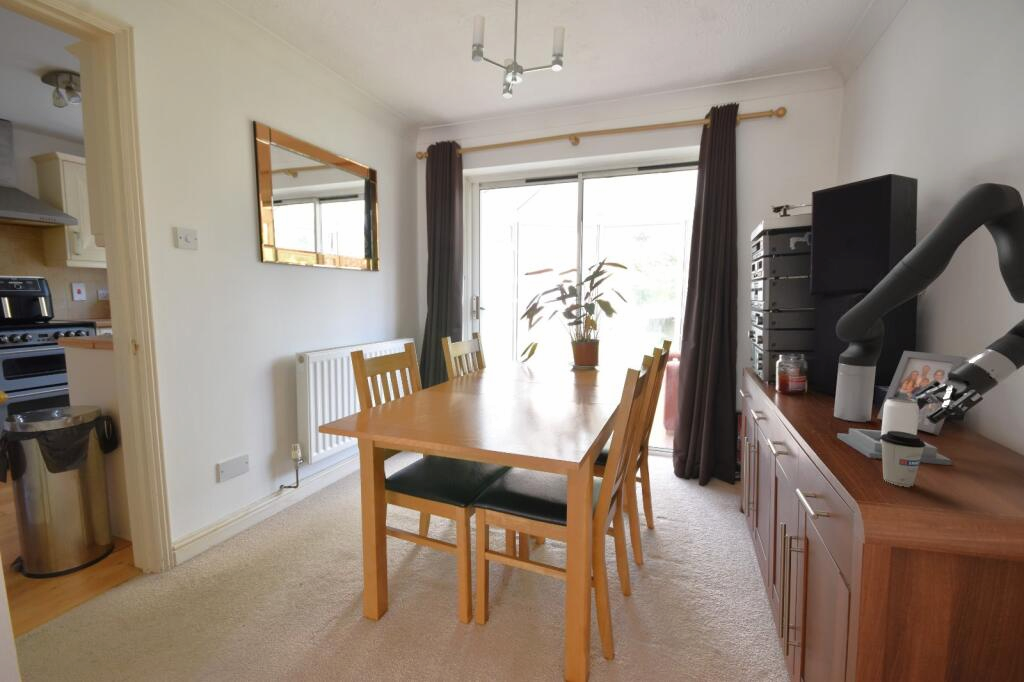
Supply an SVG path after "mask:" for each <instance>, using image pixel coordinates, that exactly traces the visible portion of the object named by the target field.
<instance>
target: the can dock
mask: <svg viewBox="0 0 1024 682" xmlns="http://www.w3.org/2000/svg"><path fill="white" fill-rule="evenodd" d="M881 431H882V430H875V429H874V430H873V429H866V428H865V429H863V428H852V427H849V428H848V433H843V432H842V433H841V432H837V434H836V435H837V436H836V437H837V439H839V440H840V441H842V442H844V443H846V445H848V446H850V447H852V448H853V449H855V450H857V451H858V452H860V453H861V454H862V455H865V456H866V457H867V458H869V459H877V458H878V459H879V460H882V442H881V439H880V437H881ZM923 442H924V443H925V447H924V448H923V452H922V455H921V459H920V462H919V463H922V462H923V463H926V464H934V465H935V464H936V465H945V466H947V465H948V466H951V464H952V459H950V458H948V457H946V456H944V455H943V454H940V453H938V447H936V446H934V445H931V444H930V443H927V442H926V441H923ZM878 459H877V460H878Z"/></svg>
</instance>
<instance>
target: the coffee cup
mask: <svg viewBox="0 0 1024 682" xmlns="http://www.w3.org/2000/svg"><path fill="white" fill-rule="evenodd" d="M880 439H881V440H882V459H881V460H882V476H883V477H882V478H883V479H884V480H885V482H886V481H887V482H886V483H888V482H889V483H888V484H890V483H891V484H890V485H893V484H894V486H897V485H898V487H902V486H904V487H905V488H911V487H910V486H912V487H913V486H914V482H915V479H916V475H917V471H918V468H919V466H920V463H921V462H920V459H921V455H922V452H923V448H924V447H925V443H926V442H925V441H923V440H921V437H919V436H918V435H914V434H910V433H906V432H899V431H888V433H887V434H884V435H882V436H881V437H880ZM924 442H925V443H924ZM884 480H883V481H884ZM904 487H903V488H904Z"/></svg>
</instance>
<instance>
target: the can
mask: <svg viewBox="0 0 1024 682" xmlns="http://www.w3.org/2000/svg"><path fill="white" fill-rule="evenodd" d="M917 402H918V401H916V399H911V398H907V397H900V396H899V397H898V396H897V397H896V396H889V397H886V400H885V402H884V404H883V412H882V420H881V421H882V423H881V430H880V431H881V436H882V435H884V434H887V433H888V431H899V432H906V433H910V434H914V435H917V434H918V427H919V416H920V410H919V406H918V404H917ZM917 436H918V435H917ZM881 442H882V440H881Z"/></svg>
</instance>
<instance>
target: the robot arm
mask: <svg viewBox="0 0 1024 682" xmlns="http://www.w3.org/2000/svg"><path fill="white" fill-rule="evenodd" d="M982 226H984V227H985V228H986V229H987V231H988V233H989V234H990V235H991V236H992V239H993V241H994V243H995V246H996V250H997V259H998V267H999V271H1000V275H1001V277H1002V279H1003V281H1004V284H1005V286H1006V288H1007V290H1008V292H1009V294H1010V296H1011V298H1012V299H1013V301H1015V302H1016V303H1017V304H1024V201H1023V198H1022V195H1021V193H1020V191H1019V190H1018V189H1017V188H1015V187H1013V186H1011V185H1007V184H1002V183H1001V184H1000V183H994V182H987V183H986V182H984V183H979V184H977V185H974V186H972V187H970V188H969V189H967V190H966V191H964V192H963V193H962V194H961V195H960V196H959V198H957V200H955V202H954V204H953V205H951V207H950V208H949V210H948V211H946V213H945V214H944V215H943V217H942V218H941V219H940V220H939V222H938V223H937V224H936V225H935V226H934V227H933V229H932V230H931V231H929V232H928V233H927V235H925V236H924V238H921V239H922V240H920V241H919V242H918V243H917V244H916V245H915V247H913V248H912V250H911V251H909V252H908V253H907V254H906V255H905V256H904V257H903V258H902V259H901V260H900V261H899V262H898V263H897V264H896V265H895V266H894V267H893V268H892V269H891V270H890V271H889V273H888V274H887V275H886V276H885V277H883V279H881V281H880V282H879V283H877V285H876V286H874V288H873V289H872V290H871V291H870V292H869V293H868V294H867V295H866V296H864V298H863V299H861V300H860V301H859V302H858V303H856V304H855V305H854V306H853V307H852V308H850V309H849V310H847V312H845V314H843V315H842V316H841V317H840V318H839V320H838V321H837V322H836V325H835V333H836V336H837V338H838V339H840V340H841V341H843V342H845V343H849V345H848V347H847V349H846V350H844V351H842V353H840V355H839V358H838V366H837V367H838V368H837V379H836V388H835V389H836V390H835V400H834V409H833V410H834V411H833V416H834V417H835V418H837V419H839V420H840V419H841V420H844V421H849V422H857V423H867V422H866V421H870V422H871V418H872V409H873V400H874V391H875V390H874V389H875V388H874V387H875V378H876V369H877V362H878V359H880V356H881V353H882V348H883V343H884V336H885V325H884V322H883V319H882V317H884V316H885V315H886V314H887V313H888V312H890V311H891V310H893V309H894V308H897V307H898V306H900V305H902V304H904V303H905V302H908V301H910V300H911V299H914V297H916V296H918V295H919V294H921V293H922V292H924V291H925V290H926V289H928V287H929V286H930V285H932V283H934V282H935V281H936V280H937V279H938V278H939V277H940V276H941V275H942V274H943V273H944V272H945V270H946V269H947V267H948V266H949V264H950V262H951V260H952V258H953V257H954V254H955V253H956V252H957V250H958V248H959V247H960V246H961V245H962V243H963V242H964V241H966V239H968V238H969V237H970V236H971V235H972V234H973V233H974V232H975V231H976V230H978V229H980V228H981V227H982ZM1023 366H1024V318H1023V319H1022V320H1020V321H1019V322H1018V323H1016V324H1015V325H1014V326H1013V327H1011V328H1010V330H1008V331H1007V332H1006V333H1005V334H1004V335H1003V336H1001V337H1000V338H997V340H995V341H993V342H992V343H990V344H989V345H988V346H986V347H985V348H983V349H982V350H980V351H979V352H977V353H974V354H973V355H971V356H970V357H968V358H967V359H966V360H964V361H962V362H961V363H960V364H959V365H957V366H956V367H955V368H953V369H952V370H950V371H949V372H948V373H947V378H948V380H947V381H945V382H942V383H941V382H939V381H938V380H937V379H936V380H935V379H934V380H933V381H931V382H930V383H928V384H927V385H925V386H924V387H922V388H921V389H919V390H917V391H916V392H915V393H913V395H914V397H915V400H916V401H918V402H917V404H918V406H919V411H921V410H922V409H924V408H925V407H926V406H928V405H930V404H940V403H942V405H941V406H939V407H938V408H936V409H935V410H933V411H931V413H929V414H927V415H926V419H927V421H929V423H931V424H934V425H936V424H938V423H939V422H940V421H942V420H943V419H945V418H946V417H948V416H952V415H955V414H957V415H958V416H961V415H964V414H965V413H966V412H968V411H969V410H971V409H972V408H973V407H975V406H976V405H977V404H979V403H980V402H981V401H983V400H984V398H983V395H985V394H986V393H988V392H989V391H990V390H992V389H994V388H995V387H996V386H998V385H999V384H1000V383H1003V382H1004V381H1005V380H1007V379H1008V378H1009V377H1011V375H1013V374H1014V373H1015V372H1016V371H1017V370H1019V369H1021V368H1022V367H1023ZM962 405H963V407H962ZM961 407H962V408H961Z"/></svg>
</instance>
